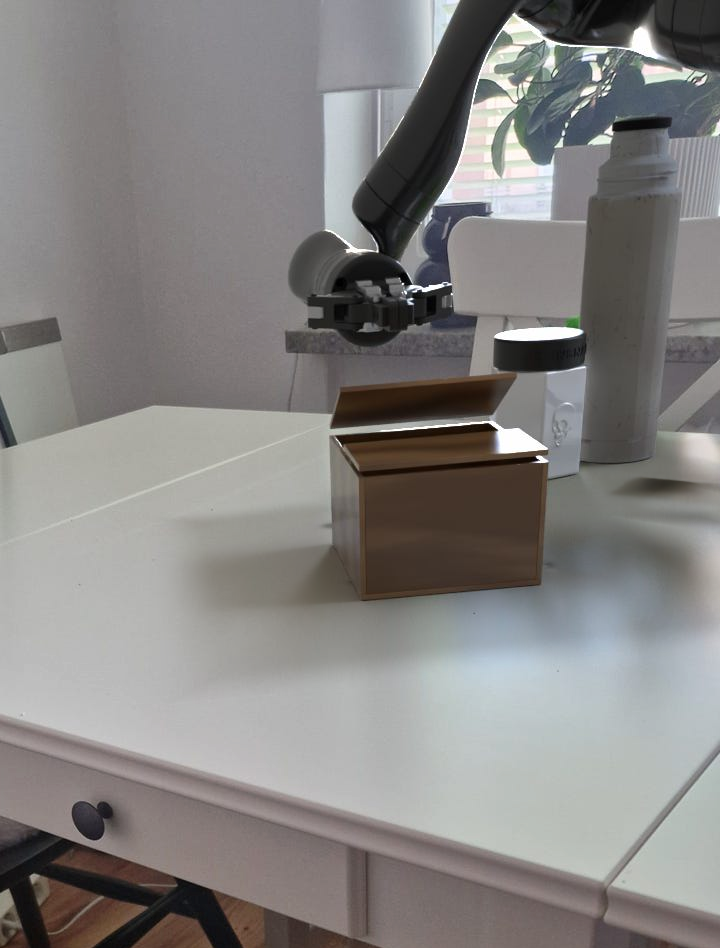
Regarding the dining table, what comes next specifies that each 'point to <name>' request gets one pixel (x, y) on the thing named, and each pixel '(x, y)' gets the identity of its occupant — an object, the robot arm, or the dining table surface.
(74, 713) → the dining table surface
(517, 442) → the carton
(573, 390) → the jar
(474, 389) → the flap
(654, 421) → the thermos bottle
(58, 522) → the dining table surface
